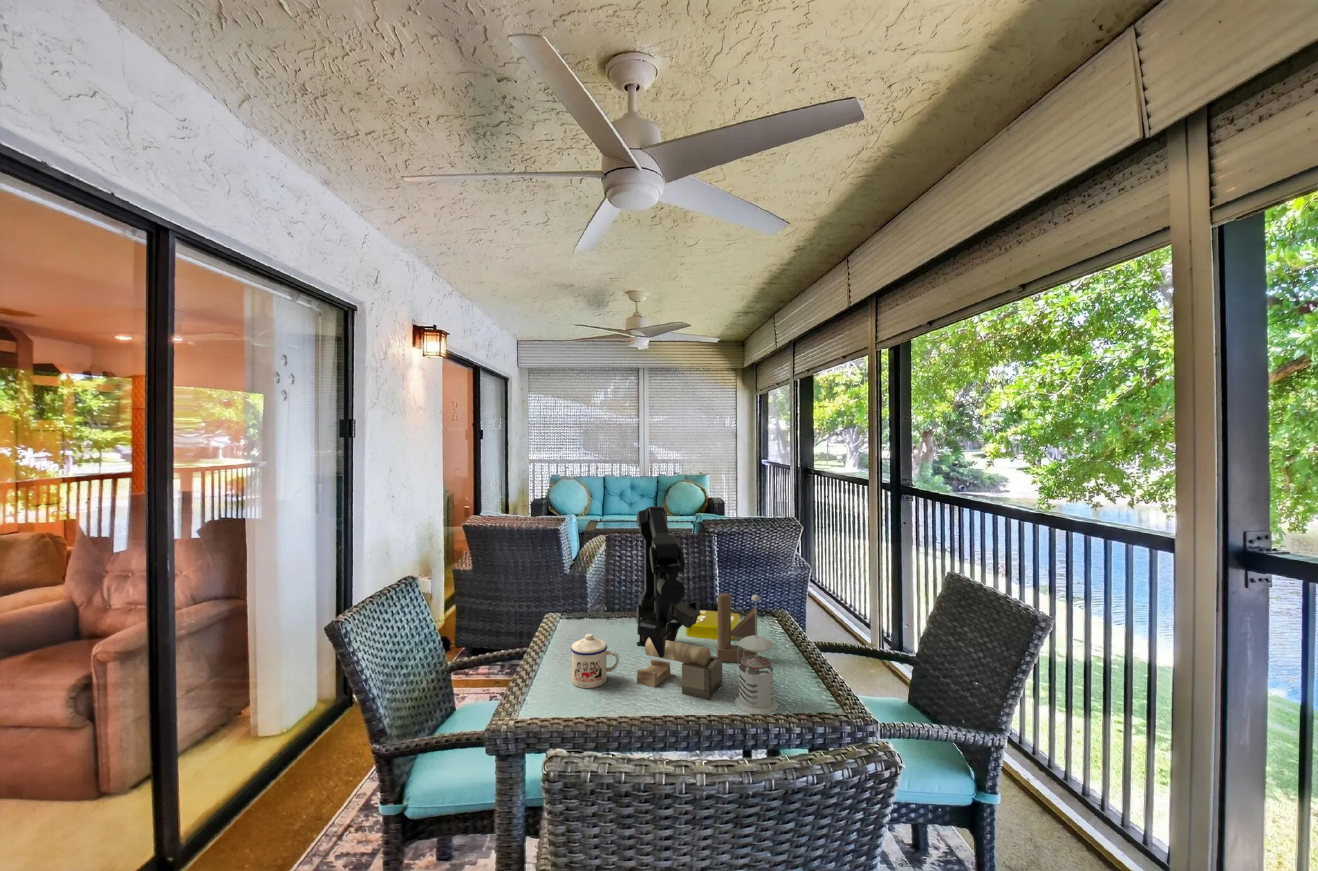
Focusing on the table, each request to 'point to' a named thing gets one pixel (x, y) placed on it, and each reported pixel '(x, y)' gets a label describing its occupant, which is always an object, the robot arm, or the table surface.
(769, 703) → the french press
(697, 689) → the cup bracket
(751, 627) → the brown post stand
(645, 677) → the block
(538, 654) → the table surface
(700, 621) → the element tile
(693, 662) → the rod
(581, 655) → the teacup with lid
